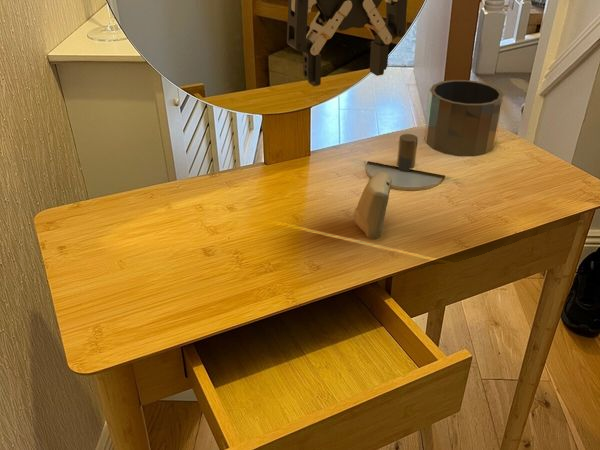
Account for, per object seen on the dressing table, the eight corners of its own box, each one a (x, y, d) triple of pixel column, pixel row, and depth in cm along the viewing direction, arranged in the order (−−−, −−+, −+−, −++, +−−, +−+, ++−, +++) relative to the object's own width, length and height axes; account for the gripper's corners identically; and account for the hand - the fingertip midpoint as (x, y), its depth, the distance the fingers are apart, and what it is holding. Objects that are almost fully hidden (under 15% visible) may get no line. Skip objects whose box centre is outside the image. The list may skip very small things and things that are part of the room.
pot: (496, 143, 109) (507, 85, 103) (486, 171, 100) (497, 109, 94) (432, 132, 112) (439, 76, 107) (416, 158, 104) (423, 98, 98)
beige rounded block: (400, 239, 83) (406, 187, 79) (365, 247, 82) (369, 194, 77) (380, 218, 88) (385, 167, 83) (347, 225, 86) (349, 174, 82)
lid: (451, 165, 102) (457, 128, 98) (434, 200, 92) (440, 161, 89) (378, 152, 106) (381, 116, 102) (354, 184, 96) (357, 146, 93)
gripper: (306, -61, 60) (305, 98, 69) (428, -70, 66) (413, 79, 74) (275, -71, 66) (278, 78, 75) (389, -79, 71) (380, 61, 80)
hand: (345, 78), depth 75 cm, fingers open, 8 cm apart
